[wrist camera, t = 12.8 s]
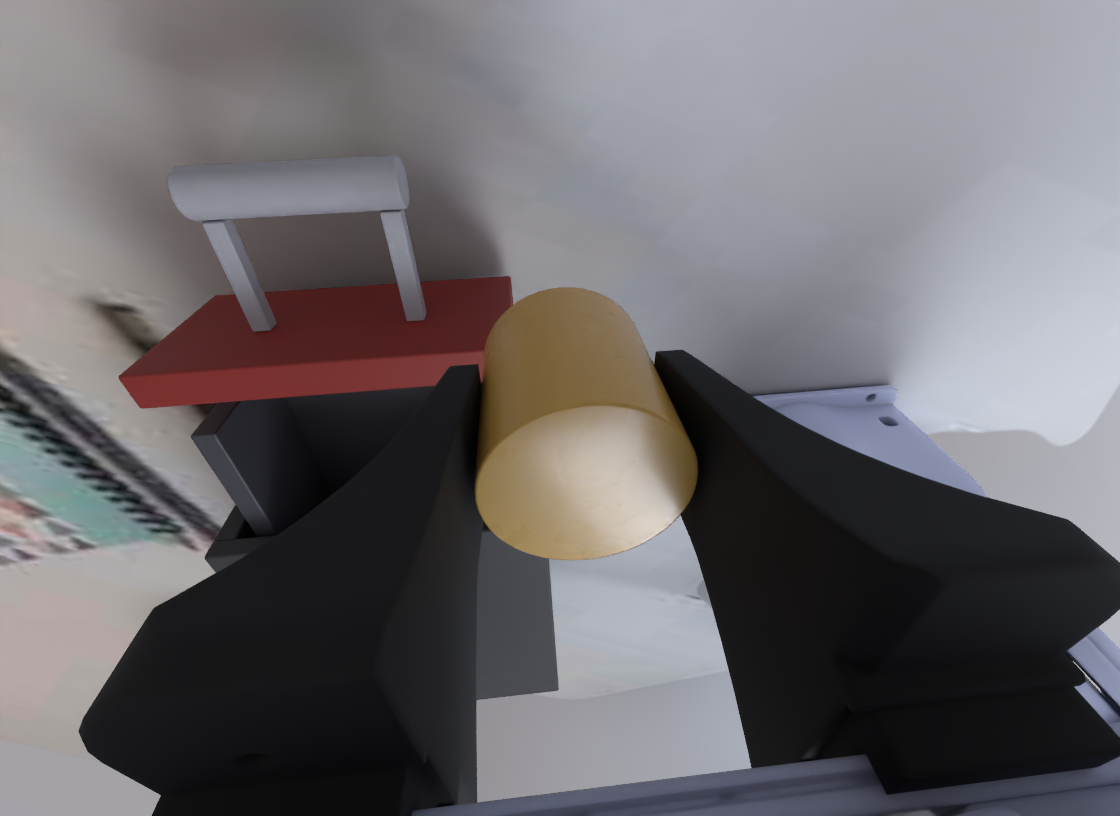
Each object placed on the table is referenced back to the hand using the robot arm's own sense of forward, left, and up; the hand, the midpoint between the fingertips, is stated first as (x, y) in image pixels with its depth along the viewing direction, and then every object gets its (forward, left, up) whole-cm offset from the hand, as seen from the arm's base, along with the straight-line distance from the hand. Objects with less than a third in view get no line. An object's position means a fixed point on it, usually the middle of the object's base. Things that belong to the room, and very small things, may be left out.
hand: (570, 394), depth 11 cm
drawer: (+7, +5, -10) cm, 13 cm away
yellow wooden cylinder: (0, 0, -1) cm, 1 cm away
